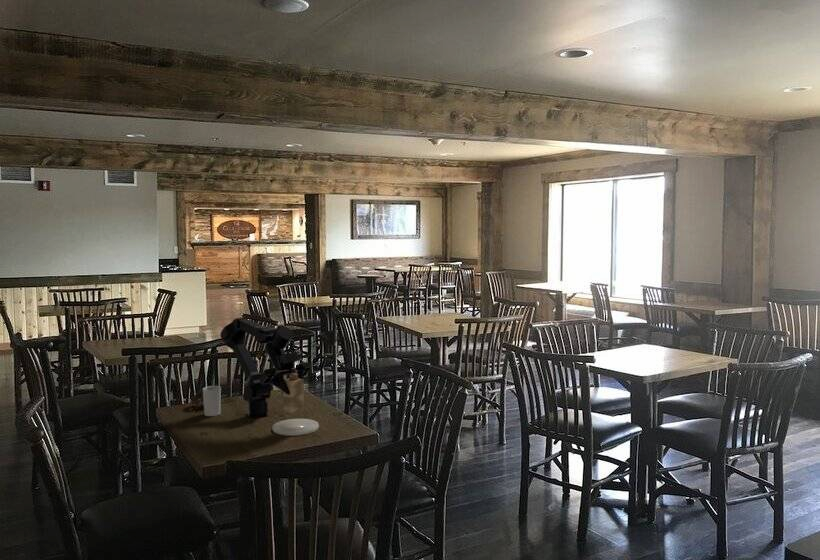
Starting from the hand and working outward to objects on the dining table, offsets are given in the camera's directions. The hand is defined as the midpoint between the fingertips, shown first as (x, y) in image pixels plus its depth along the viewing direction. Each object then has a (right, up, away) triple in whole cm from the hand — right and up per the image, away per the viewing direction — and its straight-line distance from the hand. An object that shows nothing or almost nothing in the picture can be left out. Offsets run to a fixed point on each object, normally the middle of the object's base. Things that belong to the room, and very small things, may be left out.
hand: (295, 392), depth 222 cm
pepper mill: (-1, -6, +2) cm, 7 cm away
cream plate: (-1, -13, +3) cm, 14 cm away
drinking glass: (-35, -12, +21) cm, 43 cm away
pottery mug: (-41, -11, +32) cm, 53 cm away
